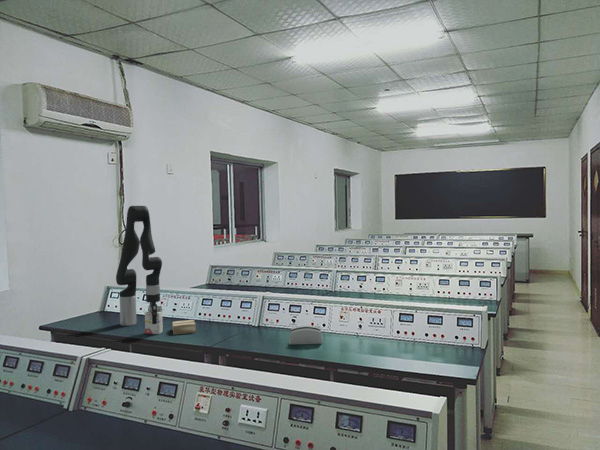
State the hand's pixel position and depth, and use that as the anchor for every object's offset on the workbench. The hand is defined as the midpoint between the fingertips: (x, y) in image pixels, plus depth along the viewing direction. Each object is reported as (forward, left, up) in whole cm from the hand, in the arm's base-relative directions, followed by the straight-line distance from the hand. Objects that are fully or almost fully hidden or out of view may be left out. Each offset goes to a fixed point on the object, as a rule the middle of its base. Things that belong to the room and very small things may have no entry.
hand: (153, 322), depth 270 cm
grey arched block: (+58, +67, -6) cm, 89 cm away
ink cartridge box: (0, 0, -6) cm, 6 cm away
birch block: (+3, +16, -6) cm, 17 cm away
